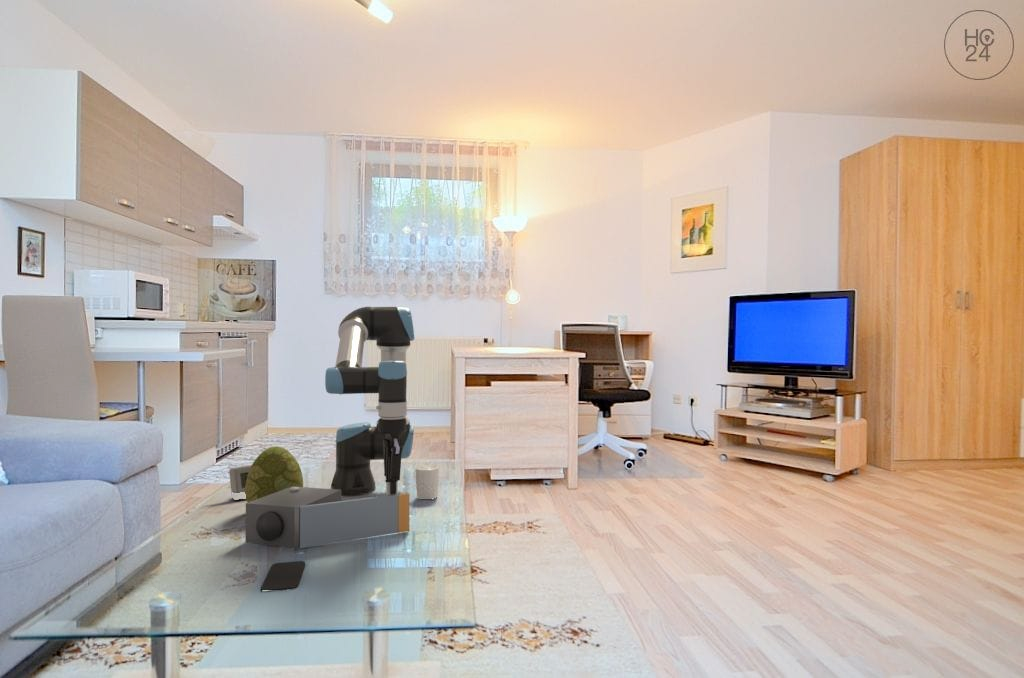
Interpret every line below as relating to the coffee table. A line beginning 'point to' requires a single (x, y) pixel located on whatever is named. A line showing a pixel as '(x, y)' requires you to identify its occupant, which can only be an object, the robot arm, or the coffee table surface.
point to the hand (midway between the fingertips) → (391, 505)
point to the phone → (284, 576)
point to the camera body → (282, 514)
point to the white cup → (427, 481)
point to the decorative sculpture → (272, 473)
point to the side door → (350, 519)
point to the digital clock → (239, 478)
